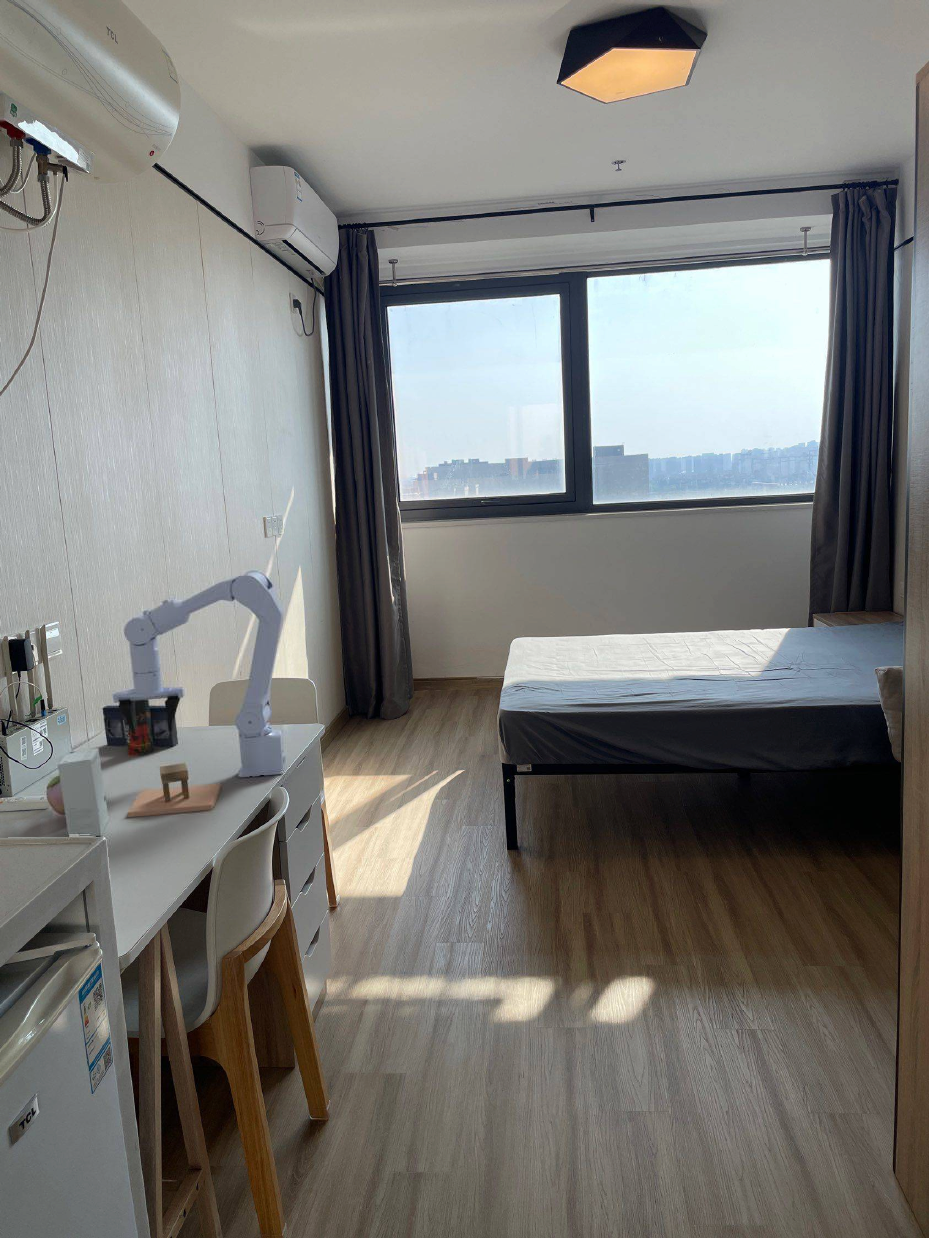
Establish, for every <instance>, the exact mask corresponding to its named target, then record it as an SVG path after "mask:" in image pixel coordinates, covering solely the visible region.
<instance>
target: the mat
mask: <svg viewBox="0 0 929 1238" xmlns="http://www.w3.org/2000/svg"><path fill="white" fill-rule="evenodd" d="M221 789H222V786H221V783H212V784H202V785H201V784H200V785H199V784H198V785H190V786H189V785H188V790H189V799H184V796H183V793H182V786H178V787H169V792H170V801H171V802H166V803H165V797H164V793H163V788H155V789H142V790H141V791H140V792H139V794H138V795H137V797H136V799H135V800H134V802H133V803H132V804H131V807H130V808H129V810H128V811H127V817H128V818H135V817H144V816H156V815H164V814H165V815H166V814H176V813H177V814H179V813H187V812H197V811H208V810H209V811H210V810H213V809H214V807H215V804H216V801H217V799H218V796H219V794H220V791H221Z"/></svg>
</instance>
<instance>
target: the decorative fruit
mask: <svg viewBox="0 0 929 1238" xmlns="http://www.w3.org/2000/svg"><path fill="white" fill-rule="evenodd" d="M45 795H46V800H47V802H48V804H49V806H50V807H51V808H52V810H53V811H54V812H55V813H57V814H59V815H62V816H64V817H65V810H64V803H63V796H62V790H61V783H60V776H59V775H57V776H55V777H54V778H52V779H51V780H50V781H49V783H48V784H47V786H46V793H45Z"/></svg>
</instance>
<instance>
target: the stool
mask: <svg viewBox="0 0 929 1238" xmlns="http://www.w3.org/2000/svg"><path fill="white" fill-rule="evenodd" d="M159 774H160V779H161V784H162V789H163V793H164V797H165V803H166V802H171V801H170V792H169V788H170V785H169V784H172V783H176V782H180V783H181V785H180V787H182V793H183V796H184V799H189V790H188V786H189V783H188V780H189V772H188V767H187V764H186V762H182V763H175V764H169V765H165V766H159Z"/></svg>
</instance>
